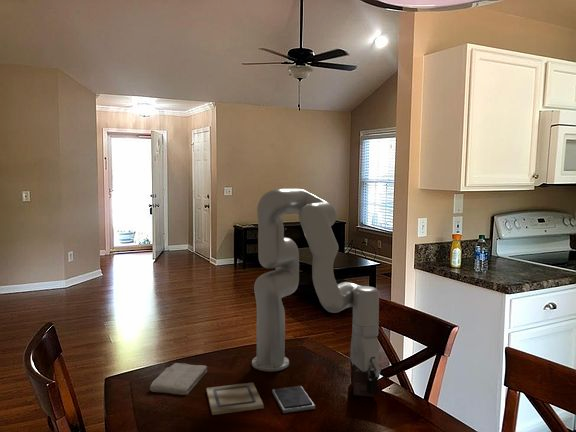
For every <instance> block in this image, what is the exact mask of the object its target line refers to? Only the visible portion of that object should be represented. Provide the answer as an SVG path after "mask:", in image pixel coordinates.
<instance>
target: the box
mask: <svg viewBox="0 0 576 432" xmlns="http://www.w3.org/2000/svg"><path fill="white" fill-rule="evenodd" d="M370 368H372V367H369V369H370ZM373 373H374V372H373V371H372V372H370V374H371V375H372V374H373ZM367 379H368V376H367V373H366V371H365V372H363V371H361V370H360V369H359V368H358V367H357V366H356V365H355V364H354V379H353V383H352V384H353V385H352V386H353V392H352V394H353V395H354V396H361V397H362V396H363V397H365V396H366V397H374V396H375V393H370V394H368V393H367Z"/></svg>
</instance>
